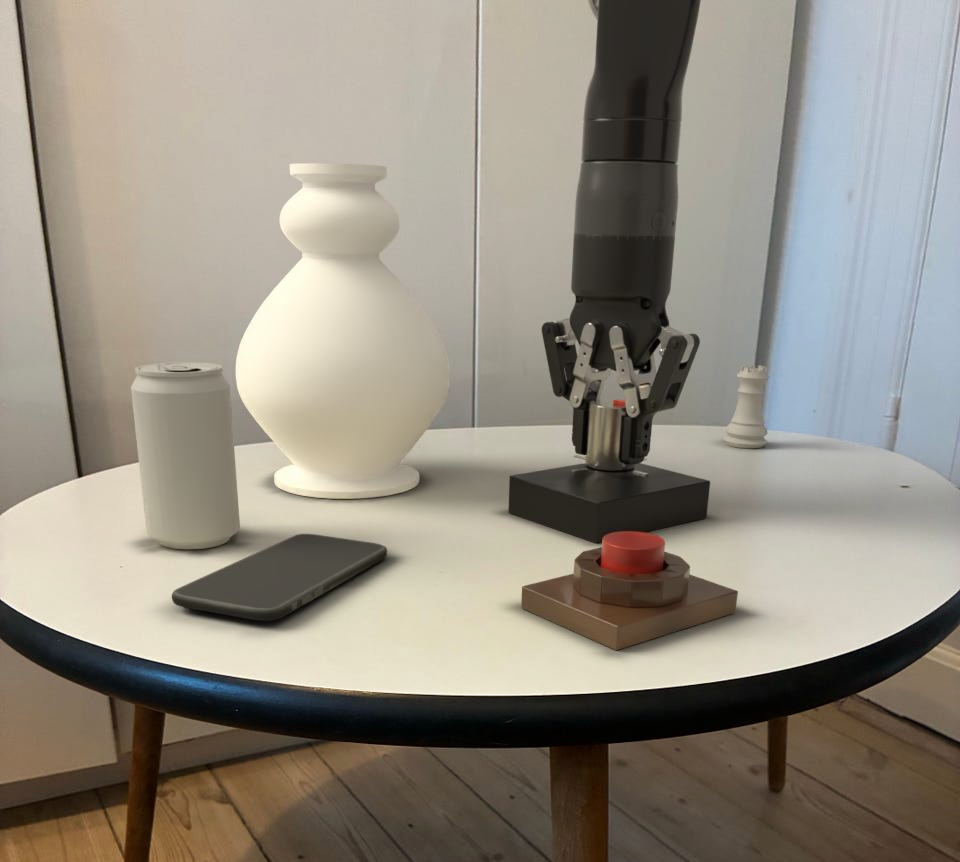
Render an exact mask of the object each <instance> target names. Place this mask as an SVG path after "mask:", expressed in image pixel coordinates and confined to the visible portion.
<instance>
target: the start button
mask: <svg viewBox="0 0 960 862" xmlns="http://www.w3.org/2000/svg"><path fill="white" fill-rule="evenodd" d="M601 547H602V554H601V567H602V568H605V569H607V570H610V571H613V572H619V573H626V574H653V573H657V572H660V571H662V570H663V562H664V551H665V549H666V540H665V539H664V538H662V537H661V536H659V535H656V534H653V533H650V532H649V533H648V532H635V531H621V532H614V533H610V534H607V535H605V536H604V537H603V539H602V542H601ZM665 552H666V551H665Z"/></svg>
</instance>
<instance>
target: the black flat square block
mask: <svg viewBox="0 0 960 862" xmlns="http://www.w3.org/2000/svg"><path fill="white" fill-rule="evenodd" d="M573 456H574V457H573V458H576V459H579V460H582V461H583V460H584V461H586V456H584V455H580V454H575V455H573ZM646 461H648V459H647V458H646V457H644V460H643V461H642V462H641V463H637V464H635V467H634V468H633V469H629V470H623V471H606V470H598V469H593V468H590V467H588V466H586V462H585V463H579V464H572V465H567V466H560V467H554V468H547V469H542V470H535V471H530V472H524V473H518V474H517V473H516V474H512V475H509V479H508V480H509V481H508V483H509V485H508V513H509V514H510V515H514V516H517V517H520V518H522V519H525V520H529V521H531V522H534V523H537V524H540V525H543V526H546V527H549V528H552V529H555V530H557V531H560V532H563V533H565V534H569V535H571V536H575V537H578V538H580V539H583V540H586V541H589V542H592V543H594V544H599V543H602V539H603V537H604V536H605V535H607V534H610V533H614V532H621V531H635V532H644V533H648V532H652V531H656V530H660V529H665V528H669V527H673V526H677V525H682V524H686V523H691V522H695V521H699V520H704V519H707V516H708V507H709V498H710V488H711V481H710V480H708V479H704V478H701V477H697V476H692V475H688V474H685V473H681V472H676V471H673V470H669V469H665V468H661V467H658V466H657V467H656V466H654V465H649V464H646V463H643V462H646Z"/></svg>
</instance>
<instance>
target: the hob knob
mask: <svg viewBox="0 0 960 862" xmlns="http://www.w3.org/2000/svg"><path fill="white" fill-rule="evenodd" d="M624 417H628V414H627V412H626V405H625V399H613V398H612V399H611V398H609V399H608V398H606V399H599V400H594V401H591V402H589V413H588V431H587V448H586V455H585V457H586V460H585V463H586V466H588V467H590V468H593V469H598V470H606V471H623V470H629V469H633V468H634V467H635V464H633V465H629V464H624V463H622V460H621V458H622V444H623V431H624Z"/></svg>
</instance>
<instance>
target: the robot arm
mask: <svg viewBox="0 0 960 862" xmlns="http://www.w3.org/2000/svg"><path fill="white" fill-rule="evenodd" d="M587 2H588V5H589V8H590V10H591V13H592V15H593V16H594V18H595V19H596V20H597V21H596V39H595V57H594V68H593V72H592V75H591V78H590V81H589V83H588V86H587V90H586V94H585V100H584V105H583V106H584V108H583V117H582V120H583V122H582V138H581V155H580V156H581V158H580V161H581V163H580V169H579V177H578V182H577V186H576V187H577V188H576V192H575V193H576V194H575V204H574V206H575V207H574V208H575V209H574V223H573V245H572V263H571V281H570V282H571V283H570V284H571V285H570V289H571V292H572V294H574V297H575V302H574V305H573V307H572V310H571V312H570V315H569V317H567V318H564V319H561V320H555V321H554V320H553V321H546V322H544V323H543V324H542V326H541V336H542V340H543V347H544V350H545V355H546V361H547V366H548V372H549V376H550V377H549V378H550V383H551V387H552V391H553V395H555V397H557V398H562V397H563V398H564V399H566V400H567V401H568V402H569V404H570V405H571V406H572V411H573V412H572V425H571V426H572V430H571V442H572V447H574V452H575V454H576V455H579V456H586V448H587V431H588V413H589V402H591V401H594V400H601V399H600V398H601V396H602V392H603V388H604V385H605V382H606V380H608V379H609V377H610V376H611V375H612V374H611V373H612V371H614V372H616V377H617V383H618V386H619V387H620V388H621V389H622V391H623V398H624V400H625V405H626V412H627V414H628V417H624V431H623V444H622V458H621V460H622V463H624V464H629V465H633V464H637V463H643V462H644V461H643V460H644V458H646V457H648V456H649V454H650V451H651V442H652V441H651V440H652V429H653V419H654V416H655V415H656V414H657V413H661V412H663V411H667V410H672V409H675V407H676V406H677V404H678V402H679V399H680V397H681V394H682V392H683V389H684V387H685V384H686V381H687V378H688V376H689V373H690V370H691V367H692V365H693V362H694V360H695V357H696V355H697V352H698V350H699V347H700V343H701V340H700V337H699V336H698V335H697V334H696V333H687V334H685V333H683V332H681V331H680V330H677V329H676V328H673V327H672V326H670V320H669V317H668V313H667V310H666V303H667V299H668V298H669V295H670V294H671V289H672V276H673V266H674V264H673V263H674V255H675V243H676V230H677V219H678V207H679V179H678V178H679V177H678V175H679V173H678V171H679V165H678V163H679V155H680V144H681V132H682V121H683V95H684V93H683V92H684V86H685V80H686V76H687V72H688V67H689V64H690V63H689V62H690V58H691V54H692V50H693V46H694V45H693V44H694V39H695V34H696V29H697V24H698V18H699V12H700V7H701V0H587ZM576 342H577V343H578V346H579V349H578V353H577V347H576ZM660 345H661V348H660V350H659V351H658V354H659V356H660V357H661V360H660V363H659V364H658V369H656V362H655V361H656V360H655V352H656V350H657V349H658V348H659V346H660ZM635 371H638V373H636V372H635Z"/></svg>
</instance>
